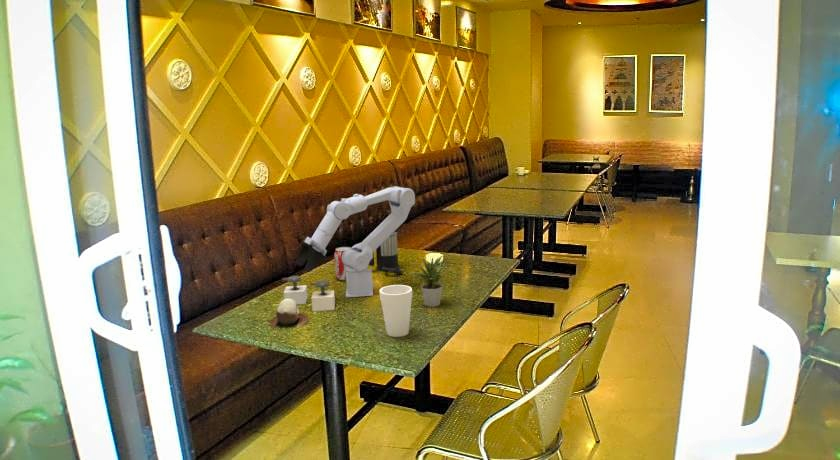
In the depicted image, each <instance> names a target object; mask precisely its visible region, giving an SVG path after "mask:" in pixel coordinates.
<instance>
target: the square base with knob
mask: <svg viewBox="0 0 840 460" xmlns="http://www.w3.org/2000/svg"><path fill="white" fill-rule="evenodd" d="M284 288H285V289H284V290H283V300H284V299H292V300H294V301H296V302H297V306H298V305H306V304H307V301H308V298H309V297H308V286H307V285H303V284H302V285H297V290H294V289H293V285H292V286H291V285H290V286H285V287H284Z"/></svg>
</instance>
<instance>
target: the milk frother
mask: <svg viewBox="0 0 840 460" xmlns="http://www.w3.org/2000/svg"><path fill="white" fill-rule="evenodd" d="M374 252H375V253H374ZM374 252H373V258H372V259H371V261H370V262H369V264H368V266H369V267H374V266H375V256H376V270H378V271H381V272H392V273H394V274H396V275H400V273H403V272H404V271H403V270H402V269H401V268H400V267H399V257H398V256H399V254H398V253H399V252H398V232H397V231H394V232H393V233H392V234H391V235H390V236H389V237H388V238H387V239H386V240H385V241H384V242H383V243H382V244H381V245H380V246H379V247H378V248H377V249H376V250H375V251H374ZM375 254H376V255H375Z"/></svg>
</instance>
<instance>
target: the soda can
mask: <svg viewBox="0 0 840 460" xmlns="http://www.w3.org/2000/svg"><path fill="white" fill-rule="evenodd" d="M350 248H351V247H350V246H340V247H336V248H335V251H334V255H333V257H334V271H335V272H334V273H335V278H336V279H337V280H339V281H343V282H344V281H345V282H346V265H345V264H344V263H343V262H342V255H343V253H344V251H346V250H347V249H350Z"/></svg>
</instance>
